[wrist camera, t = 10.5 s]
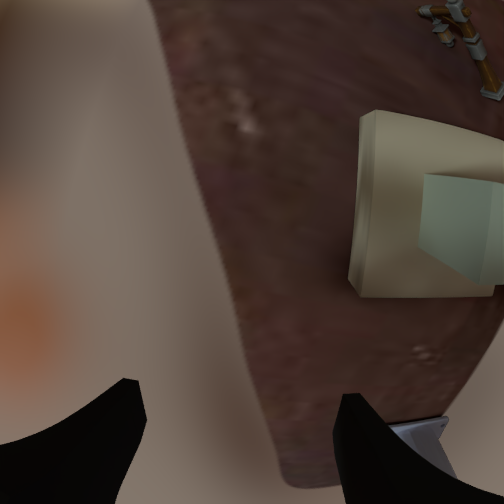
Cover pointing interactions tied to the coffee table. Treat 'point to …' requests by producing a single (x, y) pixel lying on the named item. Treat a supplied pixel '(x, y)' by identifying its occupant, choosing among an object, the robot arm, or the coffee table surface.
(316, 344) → the coffee table surface
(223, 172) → the coffee table surface
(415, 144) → the beige flat square block
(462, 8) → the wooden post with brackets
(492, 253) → the sage block
